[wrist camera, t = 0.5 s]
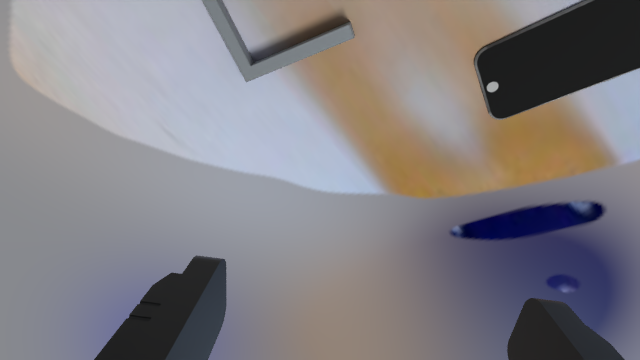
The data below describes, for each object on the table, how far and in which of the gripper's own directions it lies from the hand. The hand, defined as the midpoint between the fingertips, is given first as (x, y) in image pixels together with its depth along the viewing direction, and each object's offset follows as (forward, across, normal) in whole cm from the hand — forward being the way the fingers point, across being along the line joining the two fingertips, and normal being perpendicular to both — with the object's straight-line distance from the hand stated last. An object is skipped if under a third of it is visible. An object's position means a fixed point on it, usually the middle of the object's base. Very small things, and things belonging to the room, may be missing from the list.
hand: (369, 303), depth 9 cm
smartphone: (+26, -18, -8) cm, 33 cm away
